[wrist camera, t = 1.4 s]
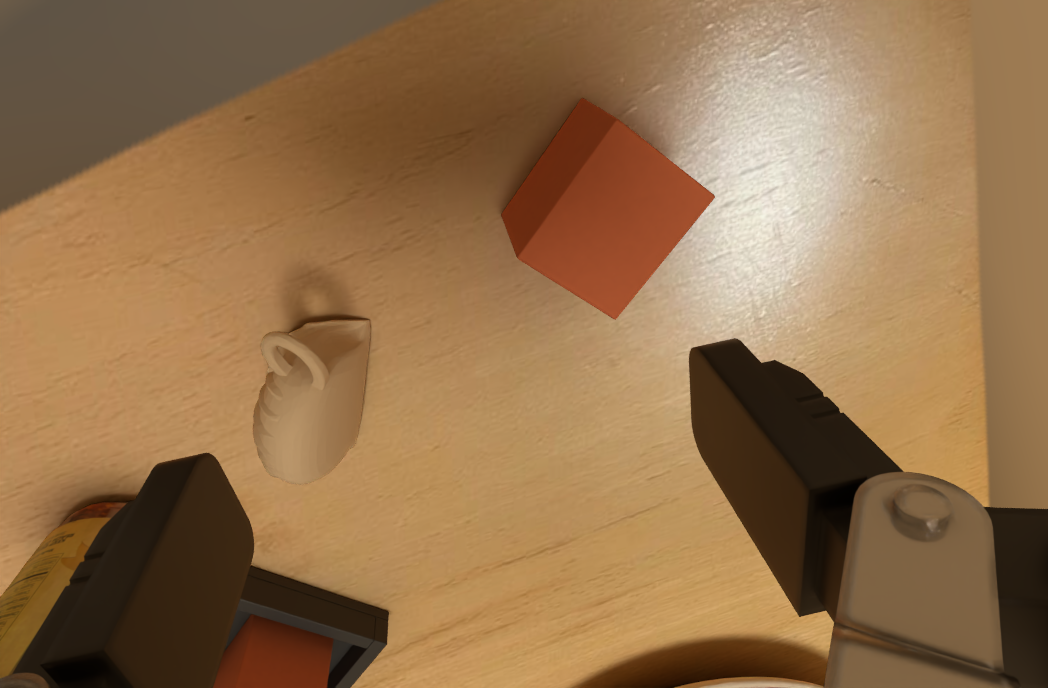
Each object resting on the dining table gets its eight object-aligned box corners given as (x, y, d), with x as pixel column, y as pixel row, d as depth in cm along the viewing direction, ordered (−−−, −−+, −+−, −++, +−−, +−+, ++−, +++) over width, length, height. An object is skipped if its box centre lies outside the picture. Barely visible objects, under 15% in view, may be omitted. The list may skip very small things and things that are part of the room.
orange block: (500, 214, 26) (516, 258, 21) (581, 97, 24) (617, 118, 20) (584, 269, 28) (615, 320, 23) (666, 163, 26) (716, 196, 21)
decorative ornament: (264, 437, 29) (235, 520, 25) (278, 272, 26) (246, 333, 21) (354, 447, 30) (342, 529, 26) (379, 289, 27) (371, 351, 22)
